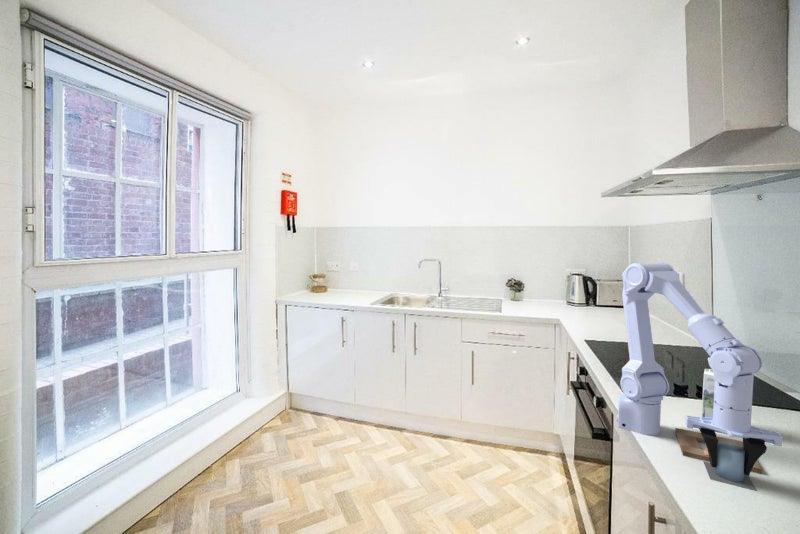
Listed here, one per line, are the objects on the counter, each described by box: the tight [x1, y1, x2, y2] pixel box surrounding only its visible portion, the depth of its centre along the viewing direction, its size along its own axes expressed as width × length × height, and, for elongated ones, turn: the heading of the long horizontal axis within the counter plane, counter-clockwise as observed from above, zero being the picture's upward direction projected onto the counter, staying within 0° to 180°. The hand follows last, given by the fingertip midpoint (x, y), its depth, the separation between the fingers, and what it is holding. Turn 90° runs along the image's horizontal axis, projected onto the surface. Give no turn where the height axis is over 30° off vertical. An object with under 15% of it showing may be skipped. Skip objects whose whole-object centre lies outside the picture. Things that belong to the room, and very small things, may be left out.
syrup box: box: [701, 368, 715, 418], centre depth 96 cm, size 6×6×14 cm
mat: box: [702, 460, 758, 492], centre depth 74 cm, size 7×7×1 cm
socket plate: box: [674, 427, 763, 475], centre depth 83 cm, size 13×12×2 cm
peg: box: [714, 441, 745, 482], centre depth 74 cm, size 4×4×6 cm
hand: (728, 468), depth 74 cm, fingers closed on peg, 4 cm apart
